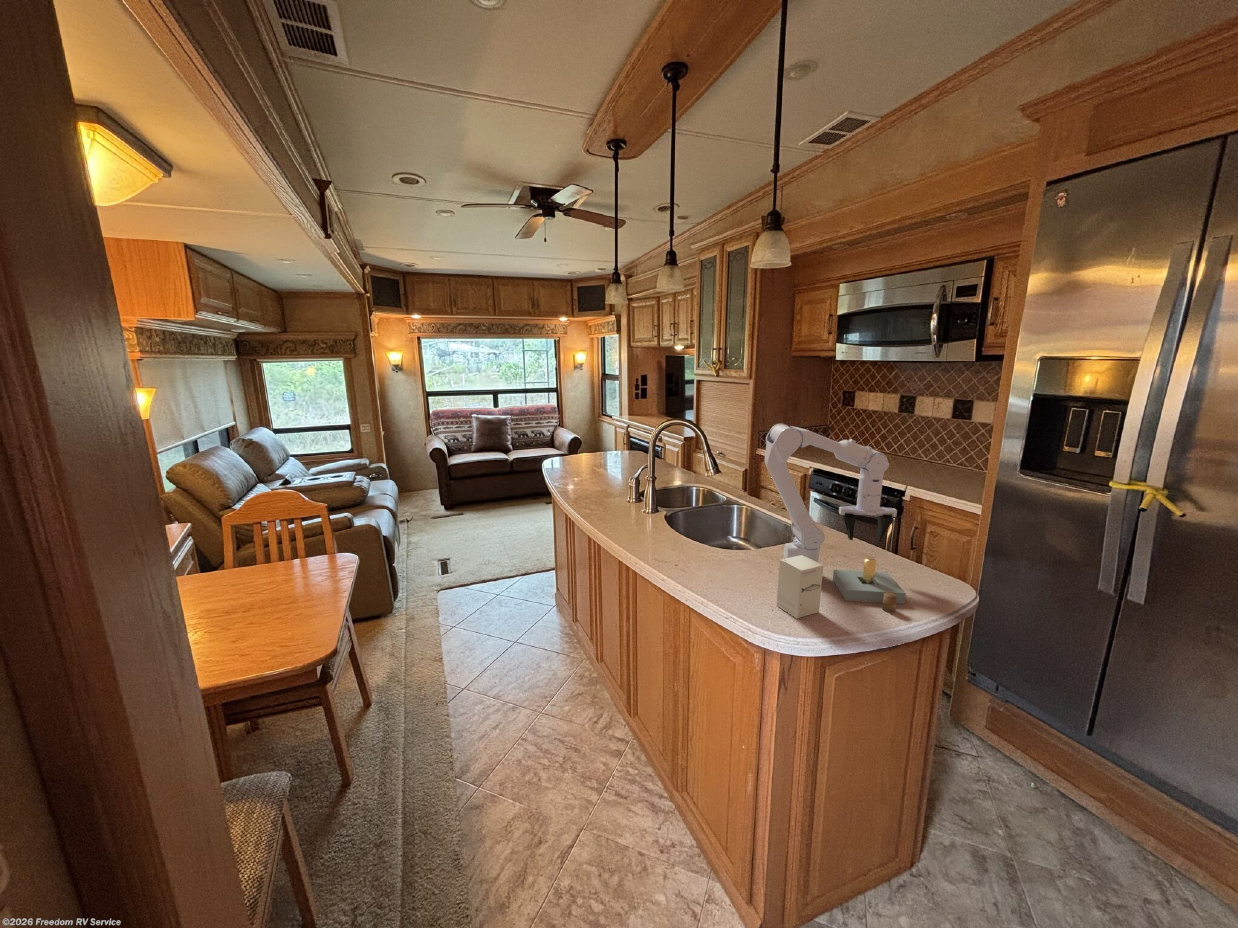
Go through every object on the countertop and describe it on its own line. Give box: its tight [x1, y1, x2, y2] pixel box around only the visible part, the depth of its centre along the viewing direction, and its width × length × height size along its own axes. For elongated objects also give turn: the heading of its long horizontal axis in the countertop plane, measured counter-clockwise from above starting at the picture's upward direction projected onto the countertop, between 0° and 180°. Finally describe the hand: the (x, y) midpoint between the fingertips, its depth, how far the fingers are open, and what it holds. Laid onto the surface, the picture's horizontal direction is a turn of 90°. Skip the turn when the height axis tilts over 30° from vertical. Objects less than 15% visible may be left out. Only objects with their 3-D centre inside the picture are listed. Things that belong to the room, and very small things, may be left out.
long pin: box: [862, 557, 877, 585], centre depth 128 cm, size 3×3×9 cm
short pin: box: [881, 592, 897, 614], centre depth 119 cm, size 3×3×4 cm
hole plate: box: [832, 569, 907, 605], centre depth 129 cm, size 14×12×3 cm
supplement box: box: [776, 555, 824, 619], centre depth 119 cm, size 7×7×13 cm
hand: (864, 539), depth 137 cm, fingers open, 7 cm apart
